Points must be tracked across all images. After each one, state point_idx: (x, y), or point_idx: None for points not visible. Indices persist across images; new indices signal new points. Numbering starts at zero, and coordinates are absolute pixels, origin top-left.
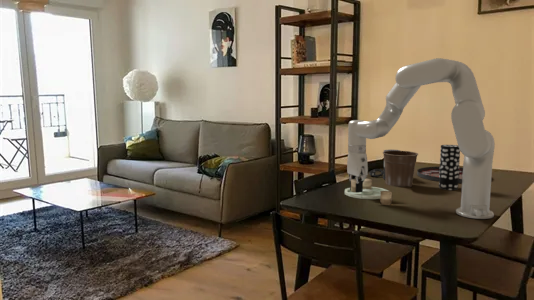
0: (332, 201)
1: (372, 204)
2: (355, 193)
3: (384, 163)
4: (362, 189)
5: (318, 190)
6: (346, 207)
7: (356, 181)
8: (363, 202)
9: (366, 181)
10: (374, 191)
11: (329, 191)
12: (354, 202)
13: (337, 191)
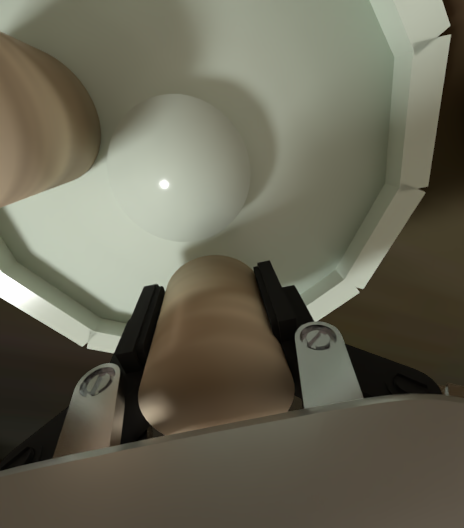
0: (292, 410)
1: (458, 225)
2: (170, 275)
3: None
4: (274, 272)
5: (12, 435)
6: (428, 376)
7: (285, 404)
8: (380, 268)
9: (22, 160)
10: (70, 14)
11: (32, 392)
12: (356, 320)
13: (23, 350)
